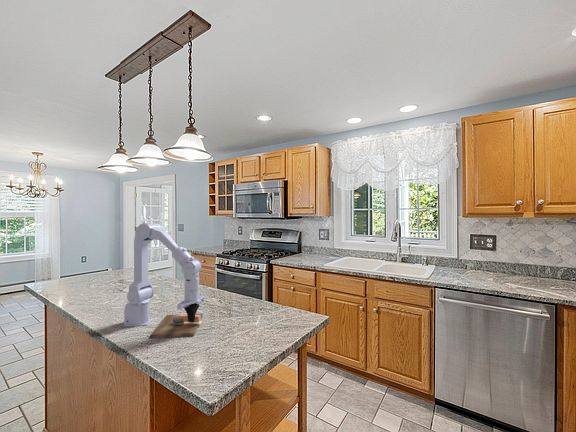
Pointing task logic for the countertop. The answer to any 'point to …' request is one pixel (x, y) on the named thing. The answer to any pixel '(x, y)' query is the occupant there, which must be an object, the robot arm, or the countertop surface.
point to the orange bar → (185, 318)
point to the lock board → (175, 328)
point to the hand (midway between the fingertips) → (191, 321)
